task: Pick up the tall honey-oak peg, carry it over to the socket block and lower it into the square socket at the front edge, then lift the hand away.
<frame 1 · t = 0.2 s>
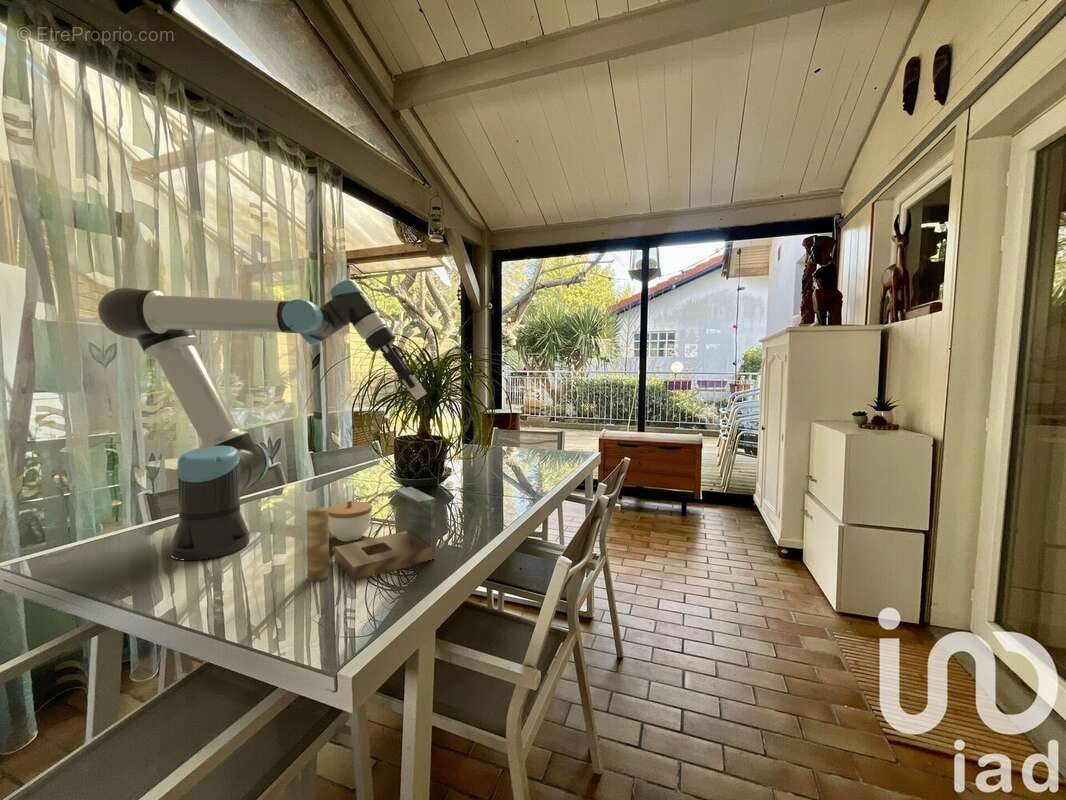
hand: (422, 396, 124), 36 cm above the table, tool tilted 35°, fingers open, 13 cm apart
socket block: (385, 559, 100), on the table
lidded jar: (349, 537, 113), on the table
oak peg: (318, 576, 91), on the table
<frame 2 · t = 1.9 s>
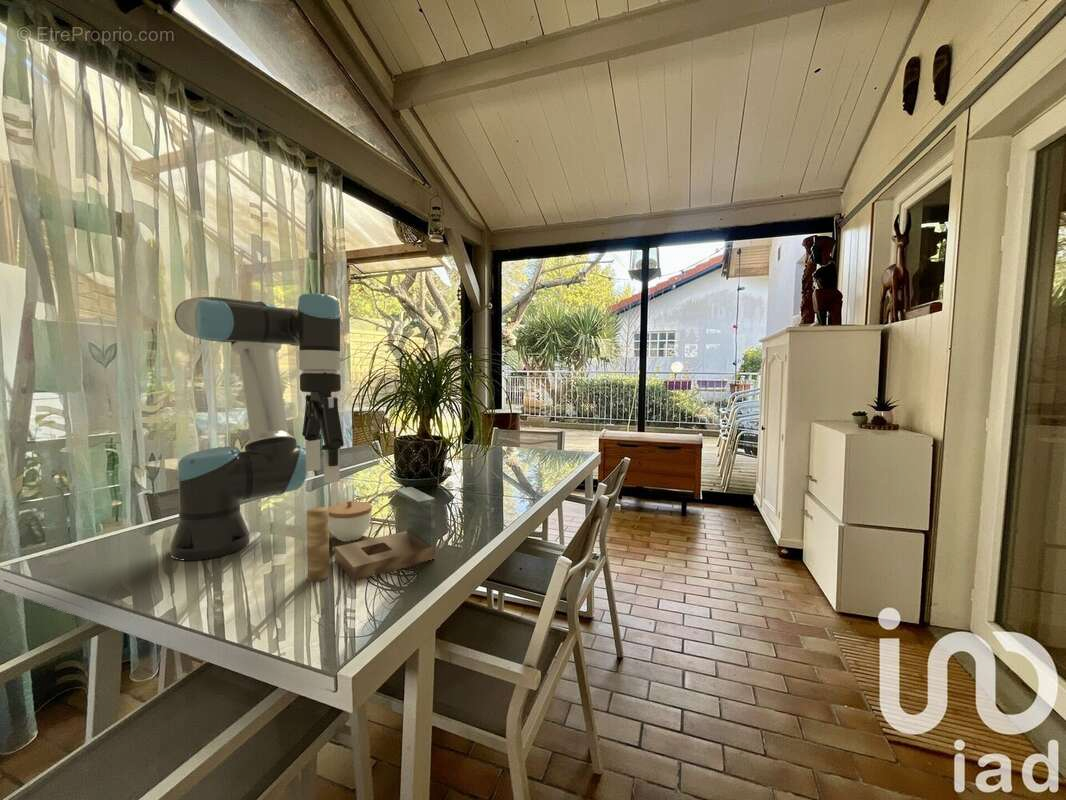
hand: (322, 476, 91), 21 cm above the table, tool pointing down, fingers open, 13 cm apart
nothing on the table moved.
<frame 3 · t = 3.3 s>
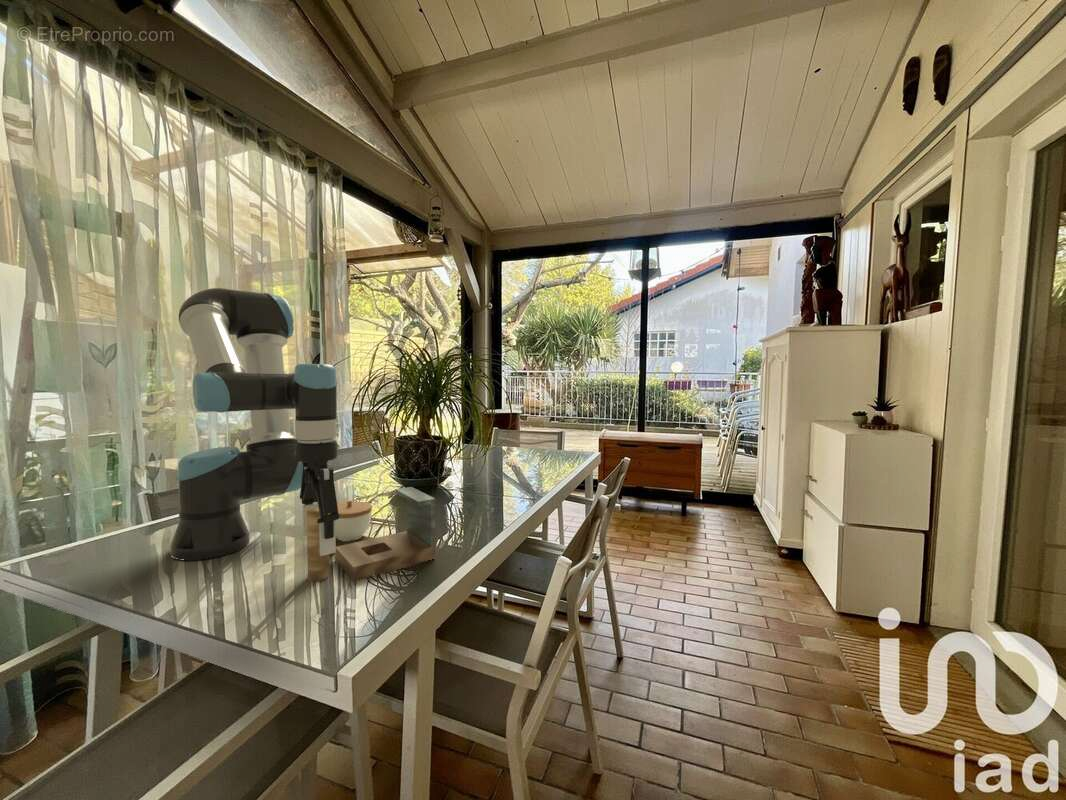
hand: (318, 543, 91), 7 cm above the table, tool pointing down, fingers open, 13 cm apart
nothing on the table moved.
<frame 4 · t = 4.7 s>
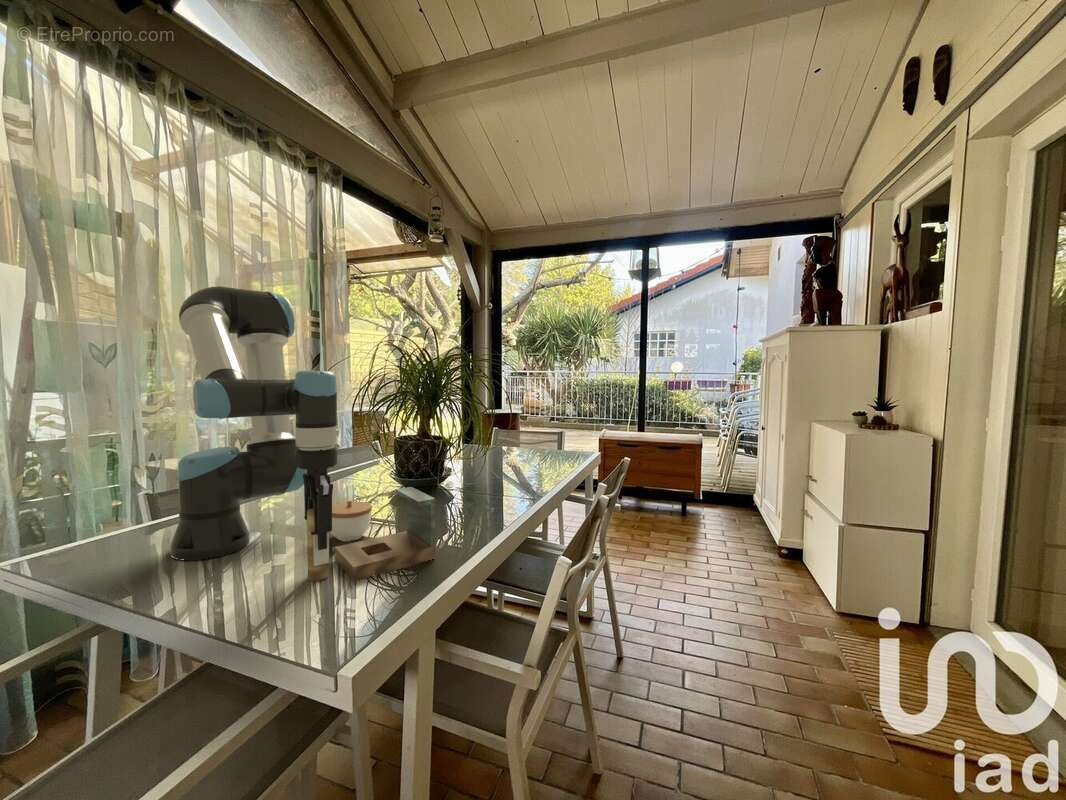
hand: (318, 559, 91), 4 cm above the table, tool pointing down, fingers closed on oak peg, 4 cm apart
oak peg: (318, 576, 91), on the table, touching gripper
everything else where it was.
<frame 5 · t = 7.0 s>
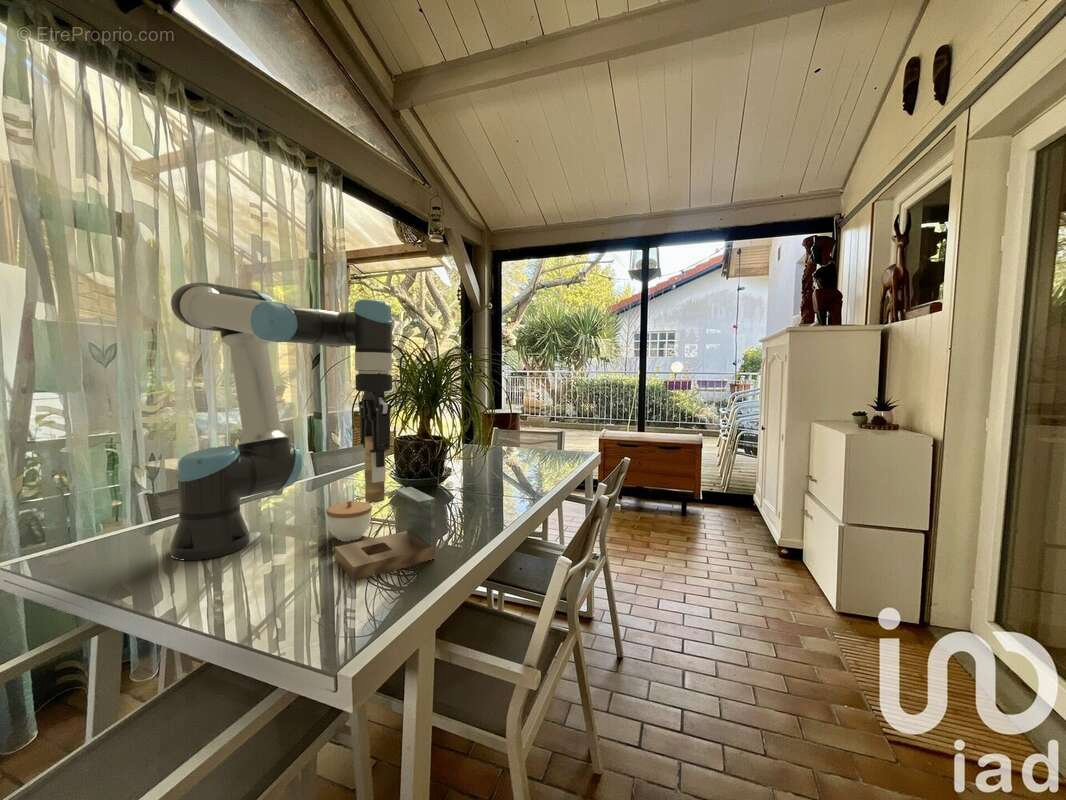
hand: (374, 479, 97), 19 cm above the table, tool pointing down, fingers closed on oak peg, 4 cm apart
oak peg: (375, 500, 98), point 14 cm above the table, touching gripper
everything else where it was.
when the fingers open (5 cm above the table, at t = 9.2 s): oak peg stays where it is, on the table.
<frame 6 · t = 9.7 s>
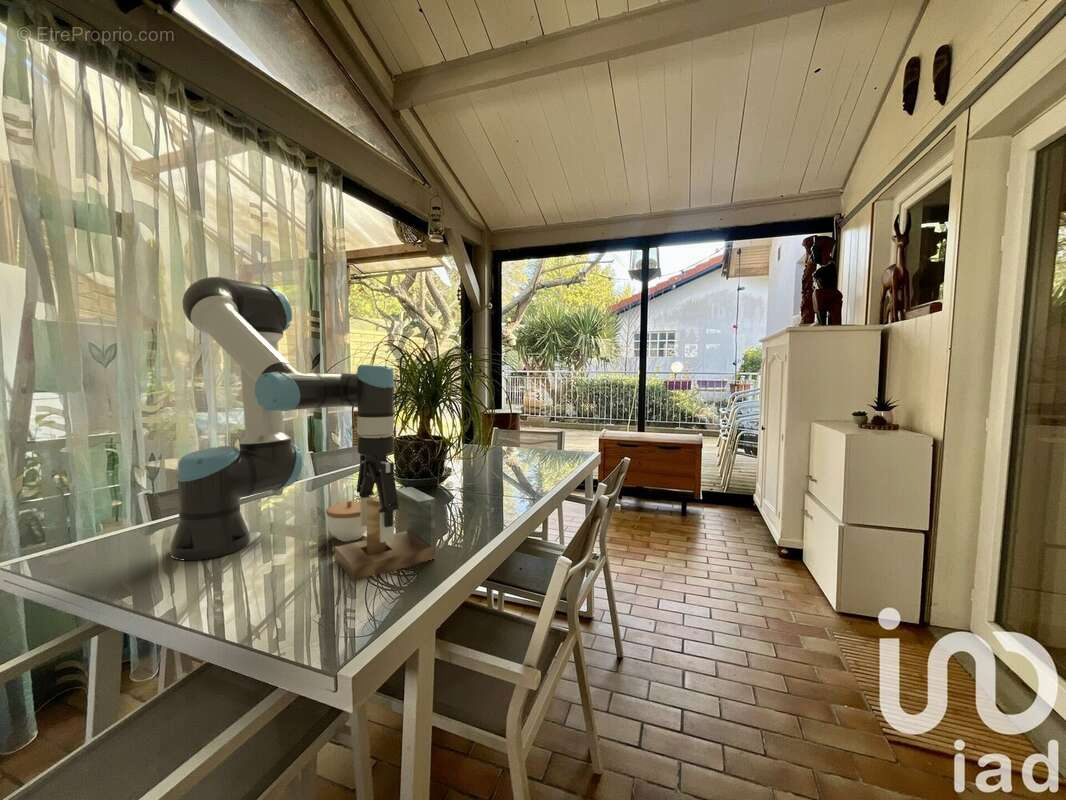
hand: (376, 532, 98), 7 cm above the table, tool pointing down, fingers open, 11 cm apart
oak peg: (376, 561, 99), on the table
everything else where it was.
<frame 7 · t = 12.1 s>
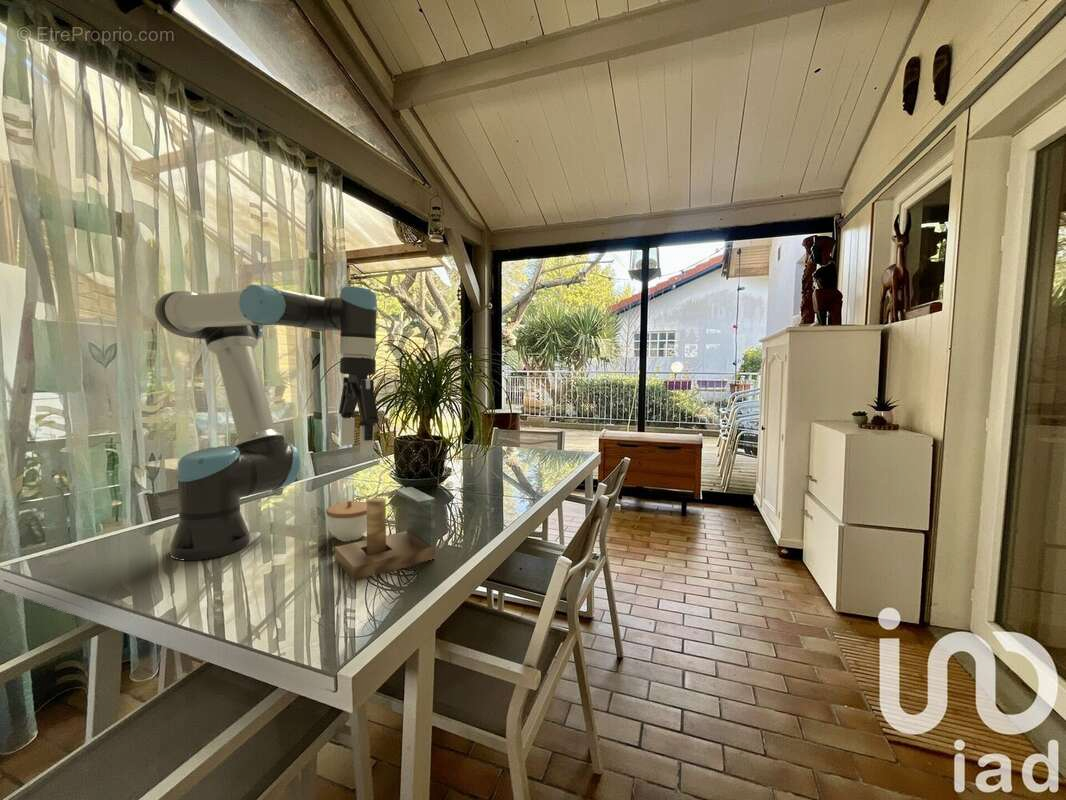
hand: (356, 449, 102), 24 cm above the table, tool pointing down, fingers open, 13 cm apart
nothing on the table moved.
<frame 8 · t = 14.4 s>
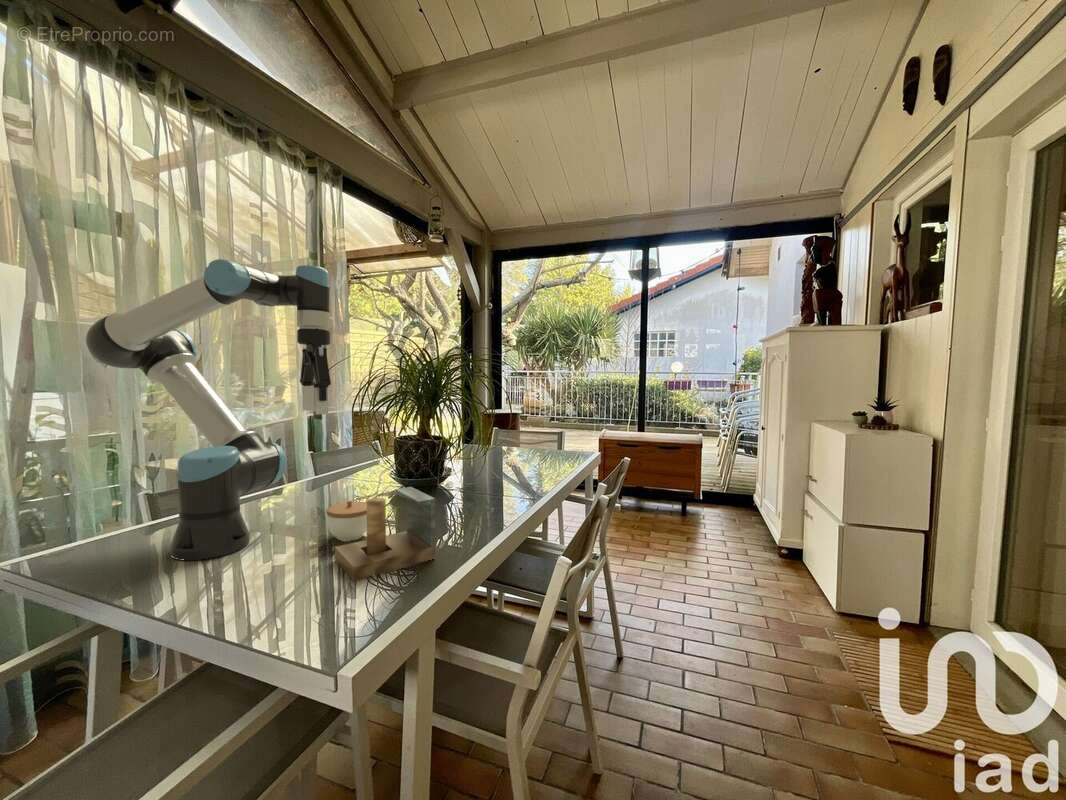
hand: (314, 412, 114), 32 cm above the table, tool pointing down, fingers open, 13 cm apart
nothing on the table moved.
at the end: oak peg 0.0 cm from the target spot on the socket block, point 0.0 cm above the socket block's base; oak peg tilted 0°; the gripper is holding nothing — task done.
